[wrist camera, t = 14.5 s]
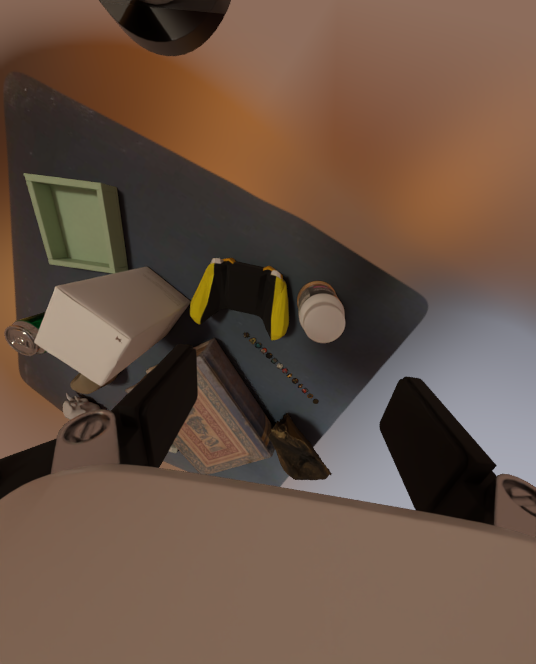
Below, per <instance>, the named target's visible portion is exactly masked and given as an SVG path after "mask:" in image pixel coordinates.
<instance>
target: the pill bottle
mask: <svg viewBox="0 0 536 664" xmlns="http://www.w3.org/2000/svg"><path fill="white" fill-rule="evenodd" d="M298 307H299V321H300V324H301V326H302V327H303V329H304V330H305V333H306V334H307V336H308V337H309V338H310V339H312V340H313V341H316V342H319V343H328V342H332V341H334V340H336V339H337V338H338V337H339V336H340V335H341V334H342V333H343V331H344V328H345V317H344V316H345V312H344V308H343V305H342V303H341V302H340V300H339V299H338V297H337V296H336V294H335V293H334V291H333V290H332V289H331V288H330V287H329V286H327V285H325V284H321V283H316V284H311V285H309V286H307V287H306V288H305V289H304V290H303V291H302V292H301V294H300V296H299V301H298Z"/></svg>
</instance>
